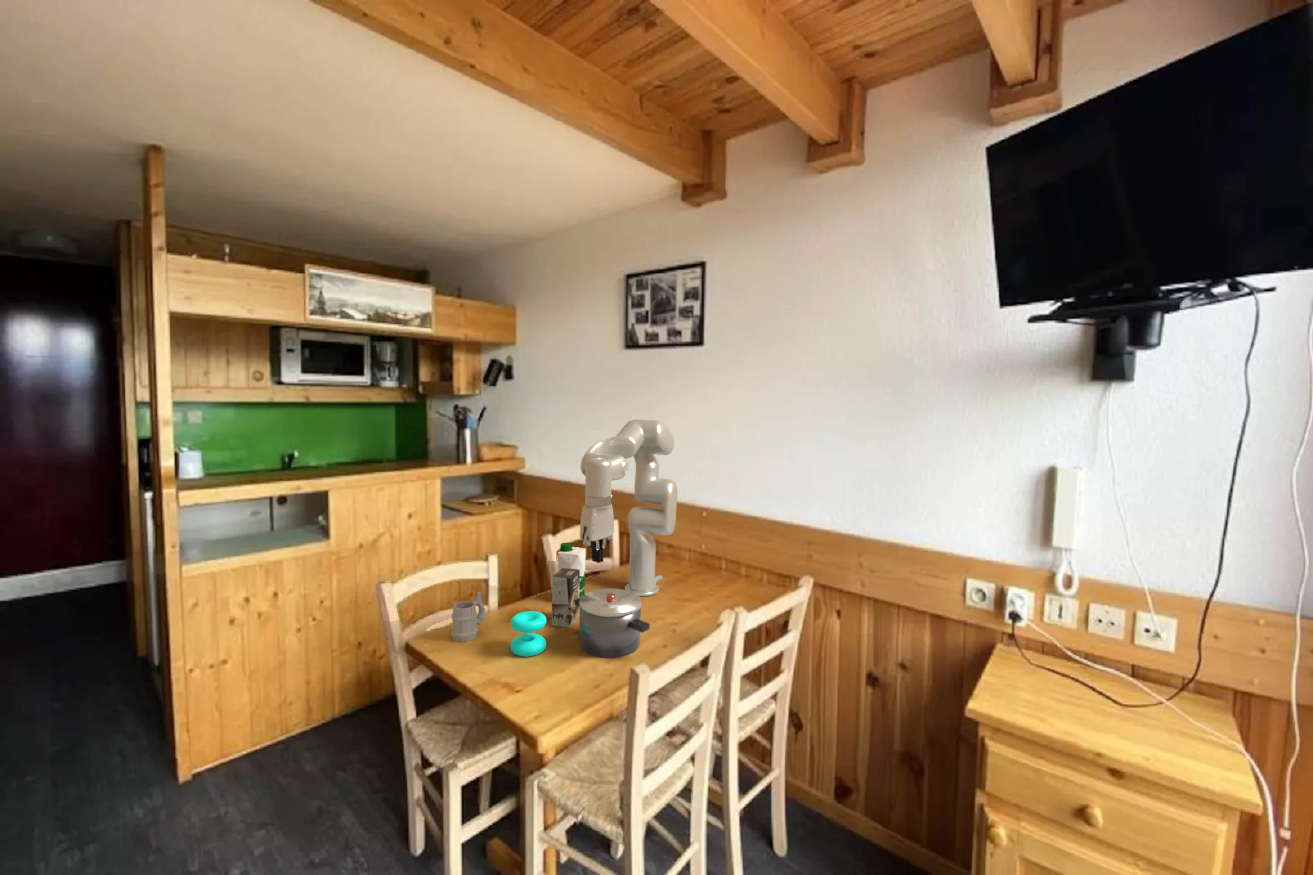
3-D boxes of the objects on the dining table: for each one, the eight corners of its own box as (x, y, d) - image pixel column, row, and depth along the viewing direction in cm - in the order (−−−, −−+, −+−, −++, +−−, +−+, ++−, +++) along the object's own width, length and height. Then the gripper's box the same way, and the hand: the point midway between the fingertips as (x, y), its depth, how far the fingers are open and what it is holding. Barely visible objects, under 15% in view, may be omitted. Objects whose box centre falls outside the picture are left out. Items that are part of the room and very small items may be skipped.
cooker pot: (599, 619, 183) (600, 583, 182) (666, 647, 165) (667, 608, 164) (555, 638, 169) (555, 599, 167) (623, 671, 151) (624, 628, 150)
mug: (445, 638, 166) (444, 599, 165) (475, 623, 177) (474, 587, 176) (463, 644, 163) (463, 605, 162) (493, 629, 173) (493, 591, 172)
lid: (610, 587, 178) (610, 579, 178) (654, 603, 166) (654, 594, 166) (566, 604, 164) (566, 595, 164) (610, 623, 152) (611, 613, 152)
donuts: (529, 627, 153) (503, 618, 158) (529, 662, 154) (502, 652, 159) (553, 614, 162) (527, 606, 167) (553, 647, 163) (527, 638, 168)
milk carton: (563, 593, 203) (564, 540, 201) (587, 596, 202) (588, 542, 200) (554, 603, 195) (555, 547, 193) (579, 605, 193) (580, 549, 191)
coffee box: (570, 628, 176) (570, 578, 174) (550, 625, 177) (551, 576, 175) (579, 616, 185) (580, 569, 183) (561, 614, 186) (562, 567, 184)
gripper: (607, 494, 171) (606, 552, 174) (570, 502, 160) (569, 564, 162) (625, 498, 167) (624, 558, 169) (588, 507, 155) (587, 571, 158)
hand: (597, 561), depth 166 cm, fingers closed
